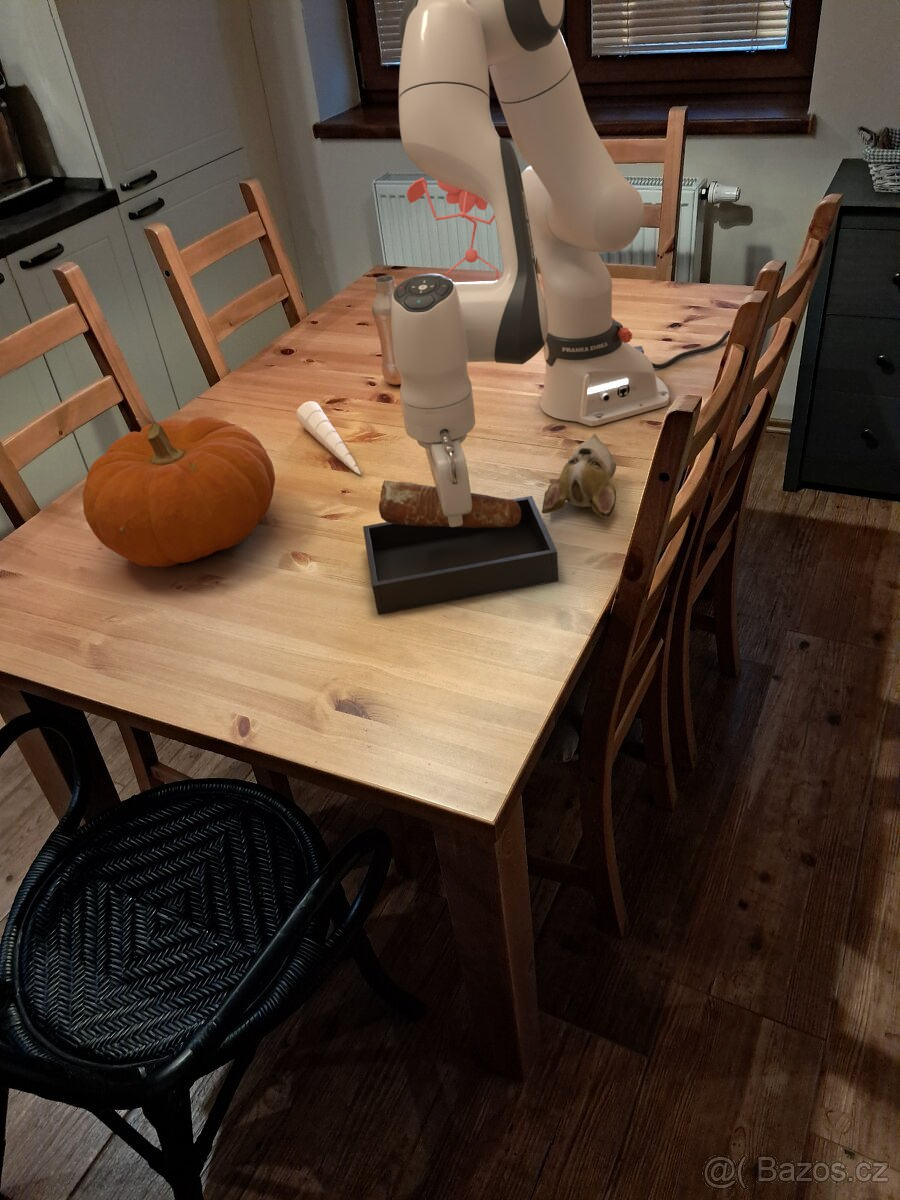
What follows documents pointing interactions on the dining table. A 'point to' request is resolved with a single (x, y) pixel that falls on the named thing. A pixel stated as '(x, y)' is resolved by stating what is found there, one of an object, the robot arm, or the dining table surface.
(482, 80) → the robot arm
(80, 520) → the dining table surface
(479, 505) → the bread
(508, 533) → the tray
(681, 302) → the dining table surface
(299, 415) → the unicorn horn
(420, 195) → the figurine
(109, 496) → the pumpkin
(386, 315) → the plastic bottle
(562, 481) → the ceramic sculpture
